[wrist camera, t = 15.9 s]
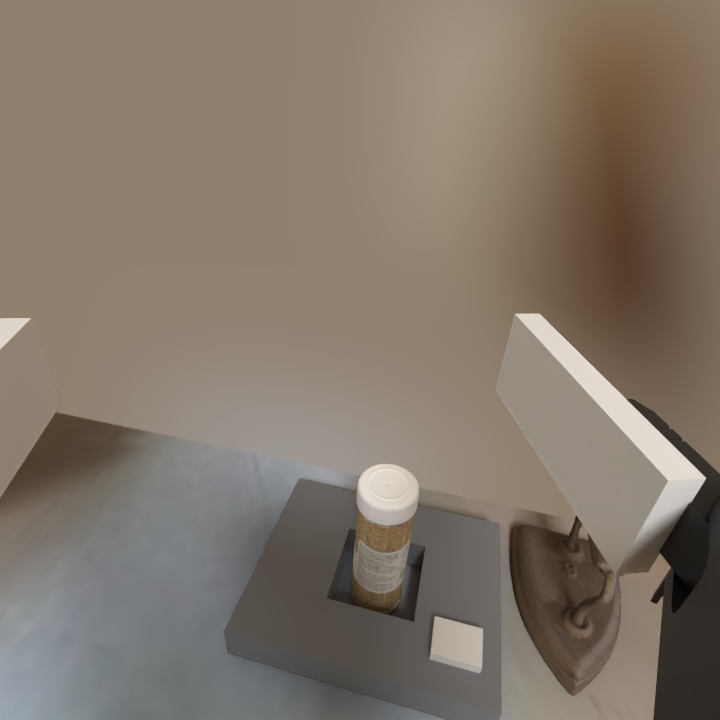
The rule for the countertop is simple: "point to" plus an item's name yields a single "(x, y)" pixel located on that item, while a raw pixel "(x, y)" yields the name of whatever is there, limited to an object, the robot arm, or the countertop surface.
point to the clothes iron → (566, 601)
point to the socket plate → (373, 629)
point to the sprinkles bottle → (382, 535)
